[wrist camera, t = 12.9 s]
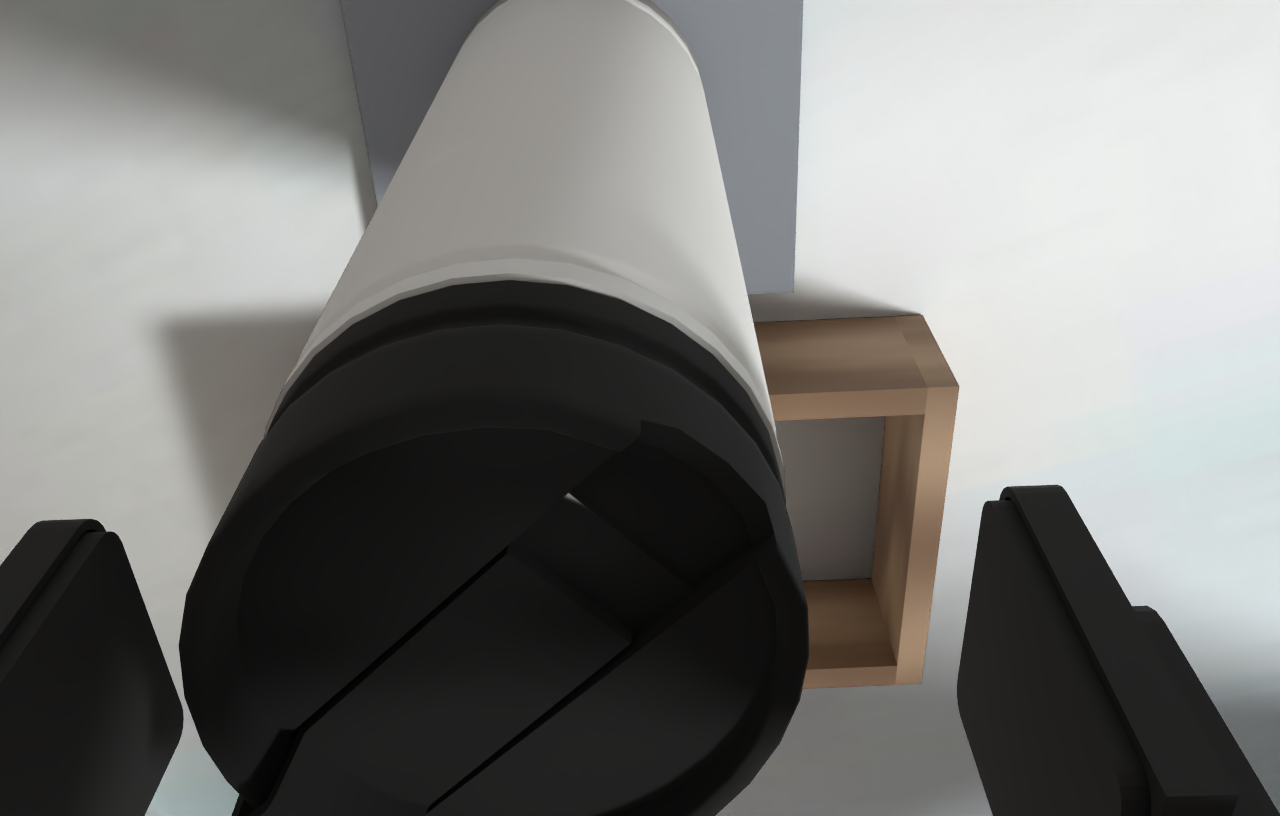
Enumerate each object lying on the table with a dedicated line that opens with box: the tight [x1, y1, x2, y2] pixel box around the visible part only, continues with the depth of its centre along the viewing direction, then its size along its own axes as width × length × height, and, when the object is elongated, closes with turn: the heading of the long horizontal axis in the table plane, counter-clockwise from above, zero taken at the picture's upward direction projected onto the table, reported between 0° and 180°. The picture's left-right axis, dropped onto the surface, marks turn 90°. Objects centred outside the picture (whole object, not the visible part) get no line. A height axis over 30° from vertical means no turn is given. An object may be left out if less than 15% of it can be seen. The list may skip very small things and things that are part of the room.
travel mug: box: [179, 0, 809, 816], centre depth 19 cm, size 6×7×20 cm
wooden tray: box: [753, 315, 959, 689], centre depth 32 cm, size 11×18×4 cm, turn 93°
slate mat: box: [340, 0, 803, 295], centre depth 27 cm, size 11×11×1 cm
